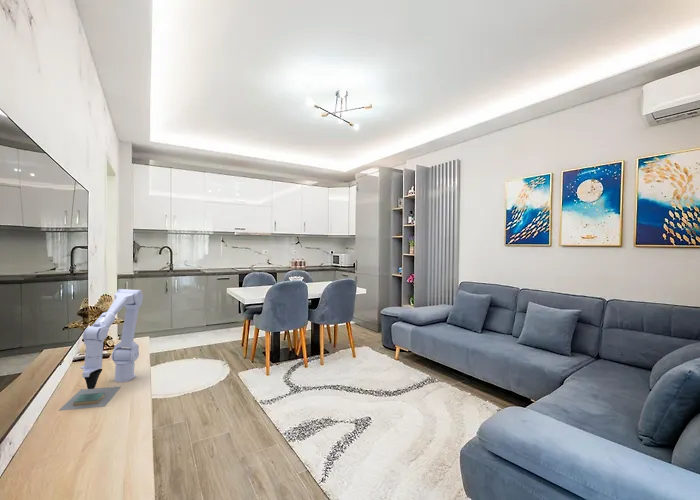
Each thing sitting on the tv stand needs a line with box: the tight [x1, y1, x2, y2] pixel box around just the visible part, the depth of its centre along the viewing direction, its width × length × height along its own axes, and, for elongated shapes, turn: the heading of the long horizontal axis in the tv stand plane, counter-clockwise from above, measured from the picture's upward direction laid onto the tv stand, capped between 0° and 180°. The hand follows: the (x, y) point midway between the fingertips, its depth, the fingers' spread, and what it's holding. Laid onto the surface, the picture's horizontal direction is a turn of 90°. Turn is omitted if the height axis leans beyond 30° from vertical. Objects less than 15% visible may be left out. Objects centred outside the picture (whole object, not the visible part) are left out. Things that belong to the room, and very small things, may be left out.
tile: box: [73, 393, 104, 406], centre depth 134 cm, size 2×8×7 cm
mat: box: [58, 386, 121, 411], centre depth 137 cm, size 20×15×1 cm
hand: (91, 388), depth 135 cm, fingers closed
